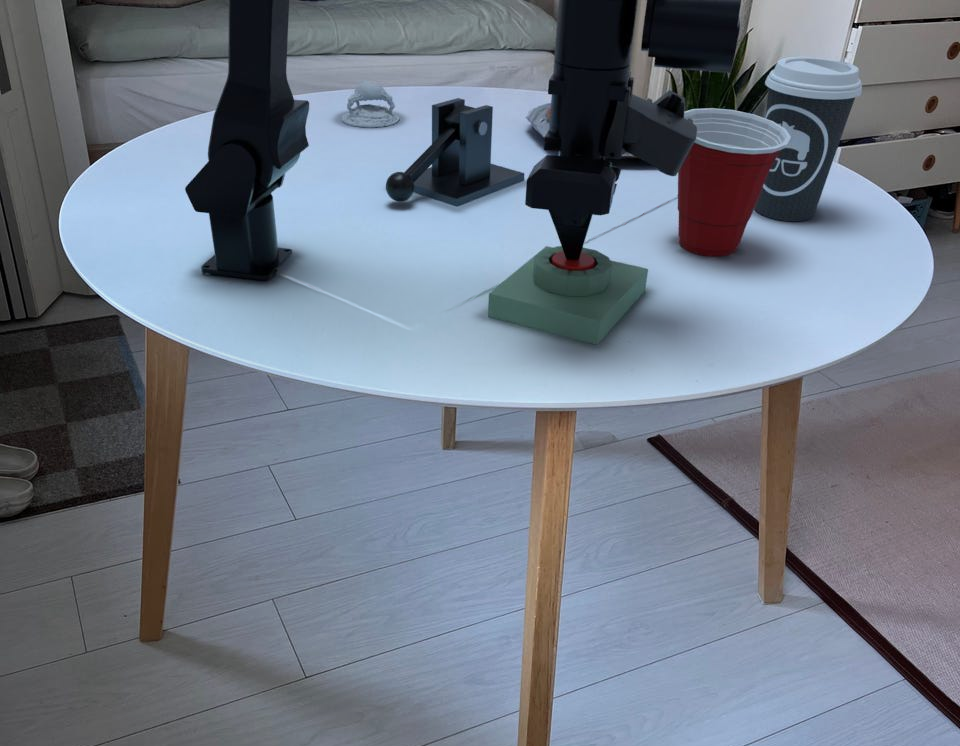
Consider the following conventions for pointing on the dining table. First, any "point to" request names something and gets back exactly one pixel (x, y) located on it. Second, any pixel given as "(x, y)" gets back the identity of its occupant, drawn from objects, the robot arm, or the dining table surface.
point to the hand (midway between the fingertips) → (572, 258)
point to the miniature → (370, 107)
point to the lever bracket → (464, 159)
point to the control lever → (425, 158)
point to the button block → (568, 296)
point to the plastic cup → (724, 177)
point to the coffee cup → (805, 131)
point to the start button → (573, 262)
